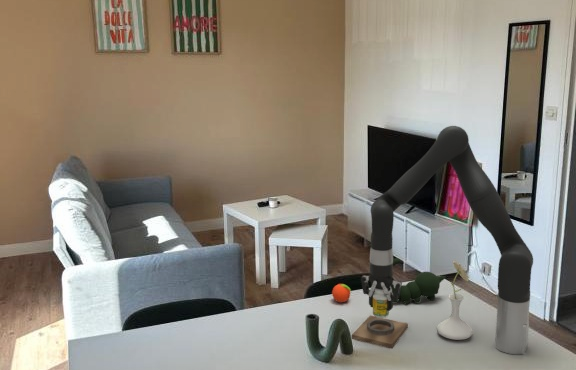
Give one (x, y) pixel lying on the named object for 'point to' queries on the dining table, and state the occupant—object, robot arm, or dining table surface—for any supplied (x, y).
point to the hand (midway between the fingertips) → (380, 307)
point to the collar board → (380, 339)
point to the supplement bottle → (380, 304)
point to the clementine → (341, 292)
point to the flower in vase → (455, 313)
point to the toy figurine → (418, 286)
